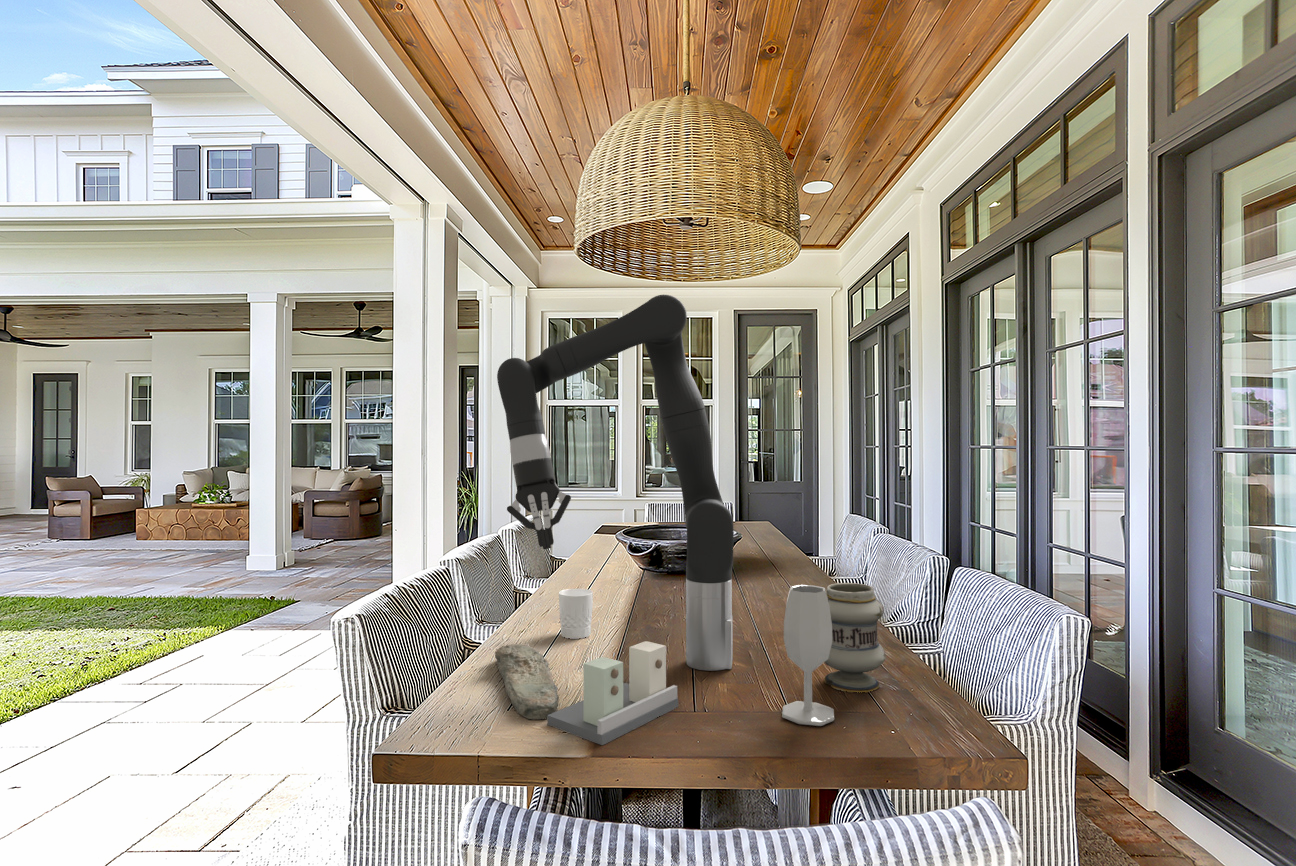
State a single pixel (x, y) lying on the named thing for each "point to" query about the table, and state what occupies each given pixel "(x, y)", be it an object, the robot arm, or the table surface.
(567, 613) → the white cup
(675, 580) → the table surface
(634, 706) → the tile board
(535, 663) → the elongated rock
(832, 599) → the apothecary jar
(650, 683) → the white block
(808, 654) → the wineglass
